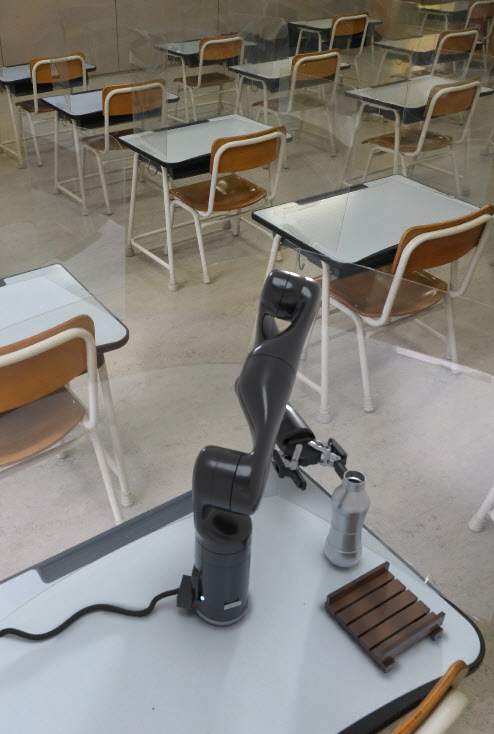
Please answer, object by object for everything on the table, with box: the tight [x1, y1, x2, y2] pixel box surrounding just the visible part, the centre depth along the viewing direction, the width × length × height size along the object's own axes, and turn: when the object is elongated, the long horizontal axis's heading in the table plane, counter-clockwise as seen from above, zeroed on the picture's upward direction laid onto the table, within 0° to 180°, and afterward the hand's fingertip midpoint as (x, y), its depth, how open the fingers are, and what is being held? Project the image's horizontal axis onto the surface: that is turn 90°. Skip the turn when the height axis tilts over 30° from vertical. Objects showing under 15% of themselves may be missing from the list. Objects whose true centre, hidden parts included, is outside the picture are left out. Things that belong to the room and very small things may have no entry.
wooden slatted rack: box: [323, 560, 446, 674], centre depth 114 cm, size 14×14×4 cm
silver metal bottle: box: [324, 469, 371, 568], centre depth 122 cm, size 6×7×20 cm
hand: (325, 482), depth 129 cm, fingers open, 8 cm apart
